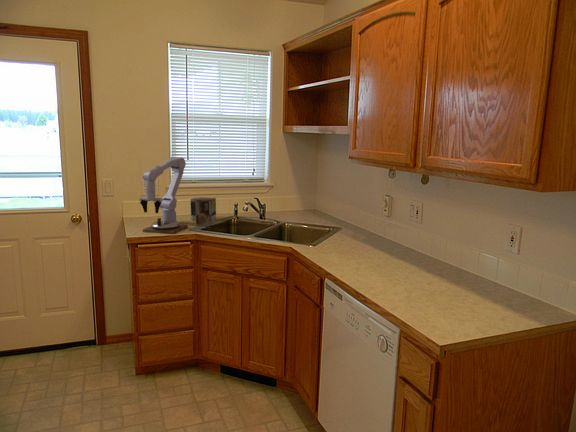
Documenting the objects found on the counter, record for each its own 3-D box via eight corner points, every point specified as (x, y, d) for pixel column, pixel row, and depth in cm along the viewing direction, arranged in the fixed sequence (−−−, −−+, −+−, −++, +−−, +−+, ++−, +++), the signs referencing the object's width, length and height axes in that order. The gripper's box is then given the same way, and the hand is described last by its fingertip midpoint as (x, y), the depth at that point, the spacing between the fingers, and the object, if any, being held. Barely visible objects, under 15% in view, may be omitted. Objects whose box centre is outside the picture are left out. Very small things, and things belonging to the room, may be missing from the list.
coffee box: (212, 224, 294) (211, 199, 291) (209, 226, 288) (209, 201, 285) (198, 223, 295) (198, 199, 292) (195, 226, 289) (195, 201, 286)
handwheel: (160, 222, 287) (160, 213, 286) (184, 223, 282) (184, 215, 281) (145, 227, 271) (145, 218, 270) (170, 229, 266) (170, 220, 265)
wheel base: (158, 225, 288) (158, 222, 288) (187, 227, 284) (187, 224, 283) (142, 231, 270) (142, 228, 270) (173, 234, 266) (173, 230, 265)
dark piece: (216, 218, 314) (216, 197, 312) (212, 221, 305) (211, 199, 302) (195, 217, 316) (195, 196, 314) (190, 220, 307) (190, 198, 304)
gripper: (136, 191, 276) (137, 213, 278) (157, 192, 272) (158, 214, 275) (142, 189, 282) (143, 211, 285) (163, 190, 279) (164, 212, 282)
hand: (151, 212), depth 280 cm, fingers open, 7 cm apart
